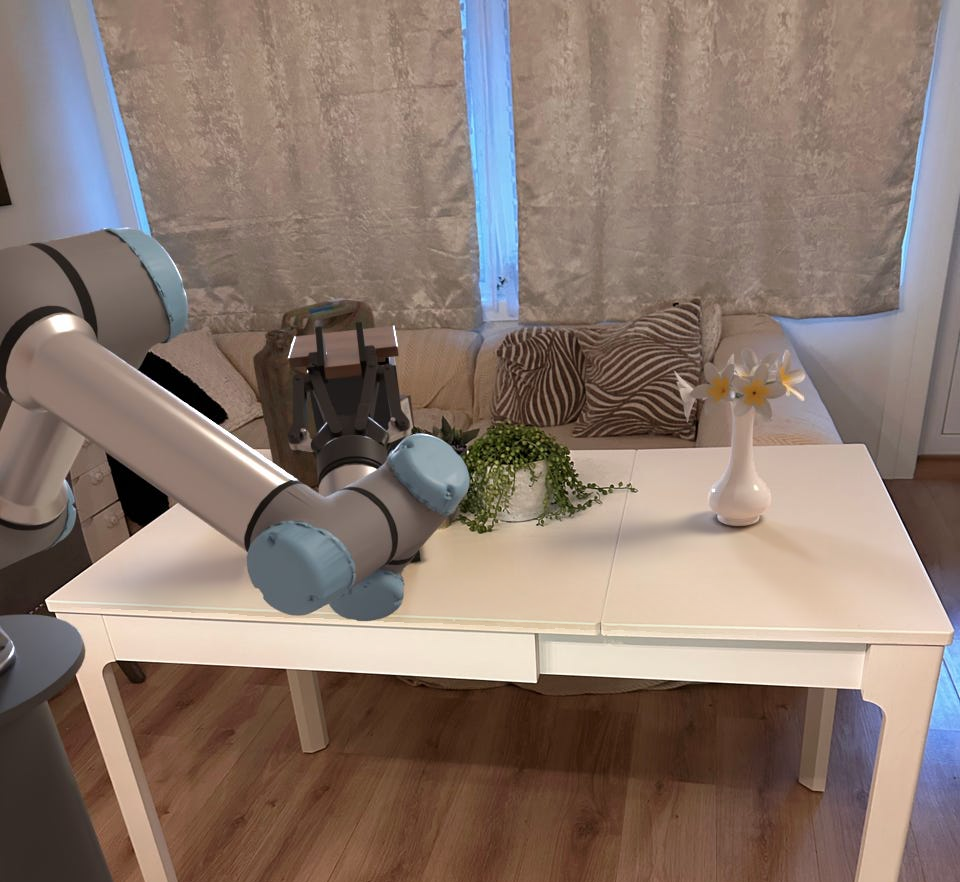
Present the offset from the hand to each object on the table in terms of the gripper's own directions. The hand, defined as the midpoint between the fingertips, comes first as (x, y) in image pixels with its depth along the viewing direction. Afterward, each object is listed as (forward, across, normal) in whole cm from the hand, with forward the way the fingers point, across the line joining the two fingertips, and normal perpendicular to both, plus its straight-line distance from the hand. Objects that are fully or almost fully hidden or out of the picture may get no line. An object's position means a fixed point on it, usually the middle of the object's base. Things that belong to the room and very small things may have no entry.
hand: (340, 334), depth 111 cm
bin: (-1, 0, -41) cm, 41 cm away
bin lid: (0, 0, -5) cm, 5 cm away
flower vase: (-6, +54, -39) cm, 67 cm away
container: (+35, -8, -62) cm, 72 cm away
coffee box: (+24, +3, -56) cm, 61 cm away
